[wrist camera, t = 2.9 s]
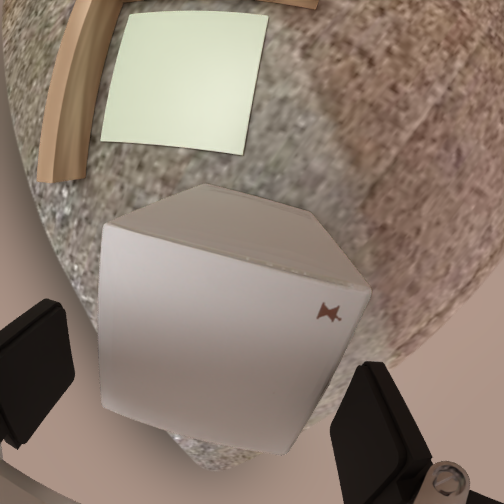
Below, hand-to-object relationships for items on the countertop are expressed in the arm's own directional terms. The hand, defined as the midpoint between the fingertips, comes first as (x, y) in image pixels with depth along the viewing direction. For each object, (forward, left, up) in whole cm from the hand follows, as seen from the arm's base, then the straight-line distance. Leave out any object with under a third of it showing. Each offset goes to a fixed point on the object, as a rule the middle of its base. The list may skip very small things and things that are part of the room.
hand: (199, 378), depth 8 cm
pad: (+6, -12, -12) cm, 18 cm away
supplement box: (0, -1, -13) cm, 13 cm away
